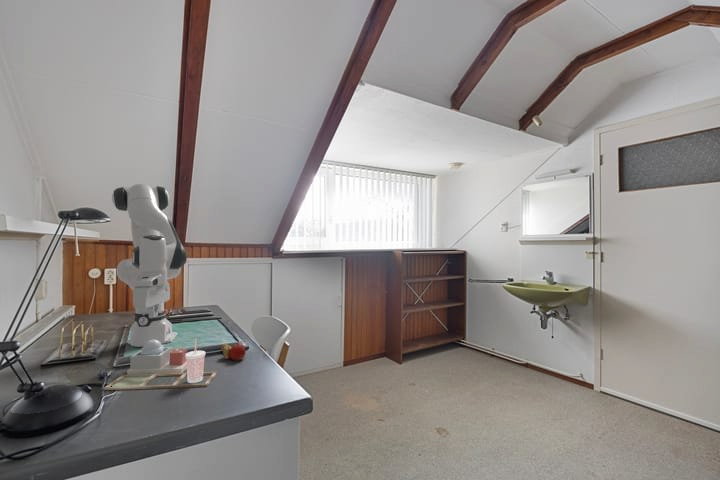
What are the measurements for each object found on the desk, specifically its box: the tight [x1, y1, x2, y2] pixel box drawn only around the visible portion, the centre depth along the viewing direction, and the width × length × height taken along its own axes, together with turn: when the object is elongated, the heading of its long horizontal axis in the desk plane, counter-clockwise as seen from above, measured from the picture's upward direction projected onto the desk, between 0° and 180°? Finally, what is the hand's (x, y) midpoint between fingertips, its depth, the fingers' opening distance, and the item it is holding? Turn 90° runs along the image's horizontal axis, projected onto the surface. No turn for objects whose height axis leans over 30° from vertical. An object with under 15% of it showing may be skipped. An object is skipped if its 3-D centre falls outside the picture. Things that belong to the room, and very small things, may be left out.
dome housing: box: [126, 346, 188, 375], centre depth 125 cm, size 12×18×6 cm, turn 97°
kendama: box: [220, 342, 246, 361], centre depth 139 cm, size 8×6×18 cm
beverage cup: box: [185, 337, 207, 384], centre depth 114 cm, size 6×6×14 cm
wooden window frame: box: [103, 371, 218, 391], centre depth 113 cm, size 11×31×1 cm, turn 97°
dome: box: [140, 339, 165, 355], centre depth 125 cm, size 7×7×7 cm
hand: (153, 317), depth 125 cm, fingers closed
